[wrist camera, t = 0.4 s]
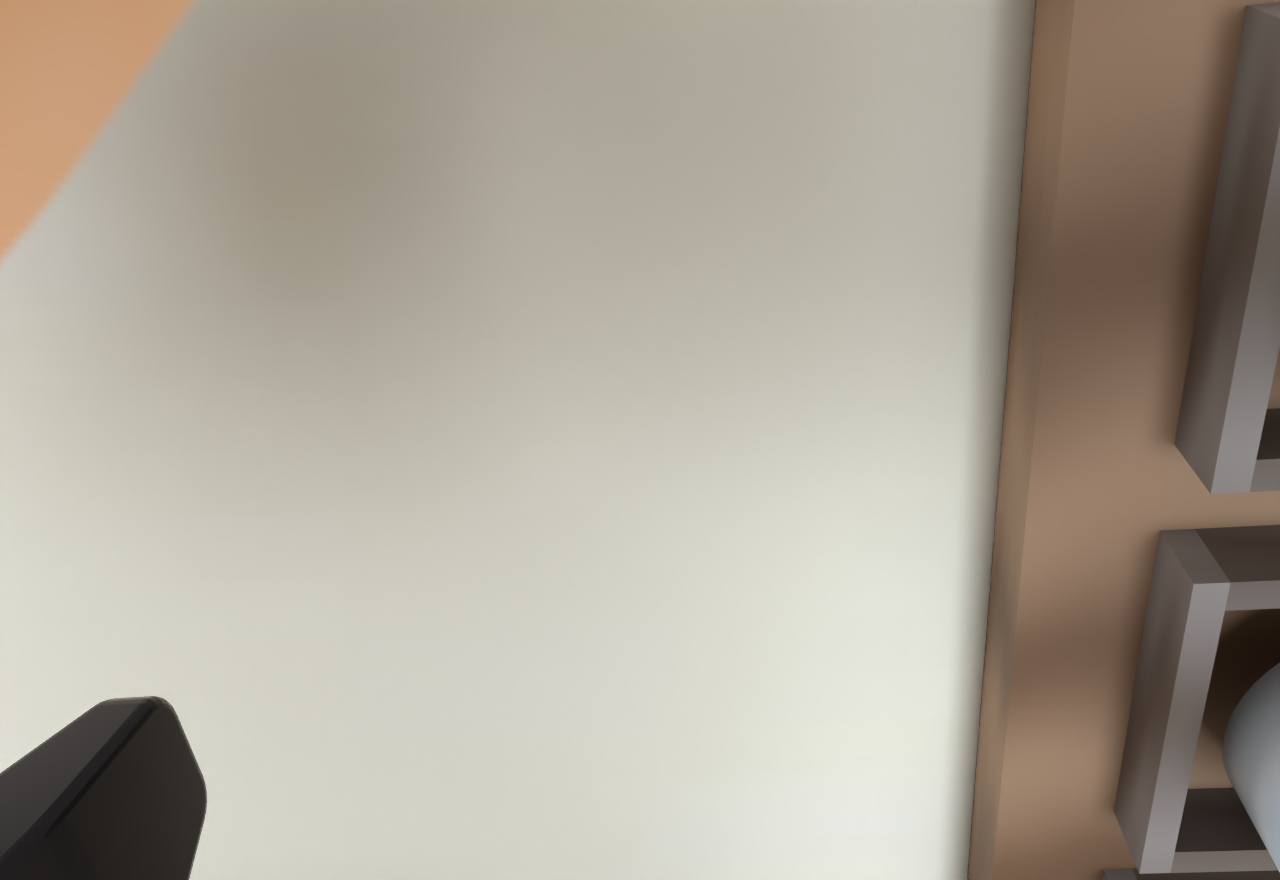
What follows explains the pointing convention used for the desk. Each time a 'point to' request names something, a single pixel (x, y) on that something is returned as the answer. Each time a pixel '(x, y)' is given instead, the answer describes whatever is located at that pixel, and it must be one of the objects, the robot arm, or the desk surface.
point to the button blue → (1257, 757)
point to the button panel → (1136, 448)
